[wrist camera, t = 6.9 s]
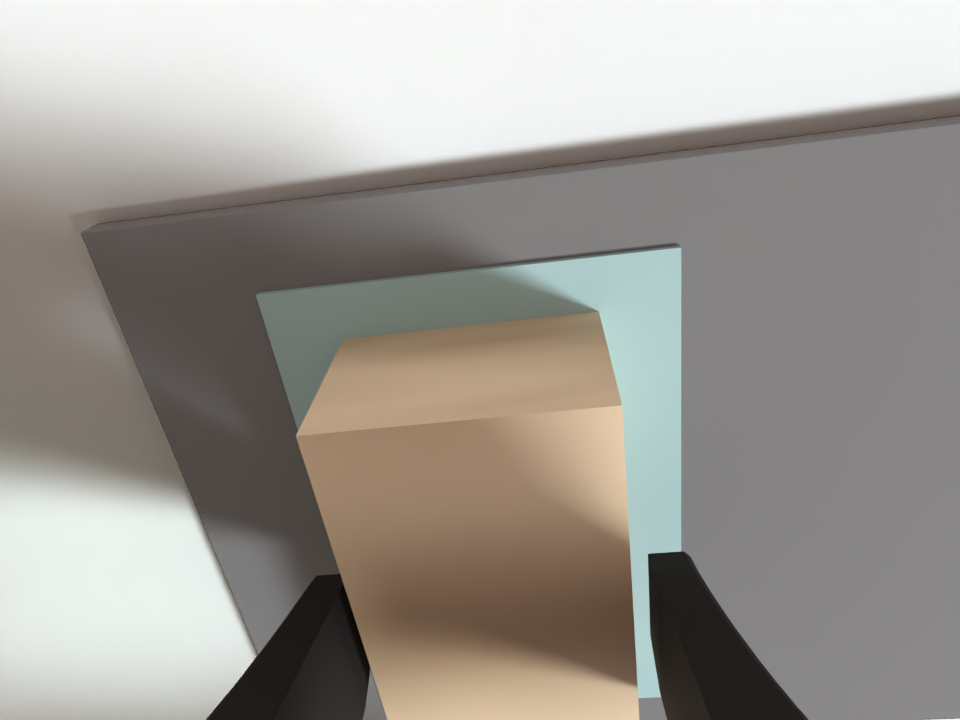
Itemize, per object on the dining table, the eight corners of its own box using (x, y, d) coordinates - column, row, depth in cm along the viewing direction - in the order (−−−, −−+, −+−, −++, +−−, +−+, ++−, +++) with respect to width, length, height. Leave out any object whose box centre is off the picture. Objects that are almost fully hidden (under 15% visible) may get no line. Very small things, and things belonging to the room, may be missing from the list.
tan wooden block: (622, 664, 16) (643, 798, 13) (431, 675, 16) (415, 806, 14) (599, 311, 12) (622, 405, 9) (343, 339, 12) (295, 436, 10)
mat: (301, 726, 19) (295, 747, 18) (97, 224, 12) (77, 234, 12) (1294, 684, 16) (1320, 708, 16) (1712, 20, 10) (1782, 22, 9)
